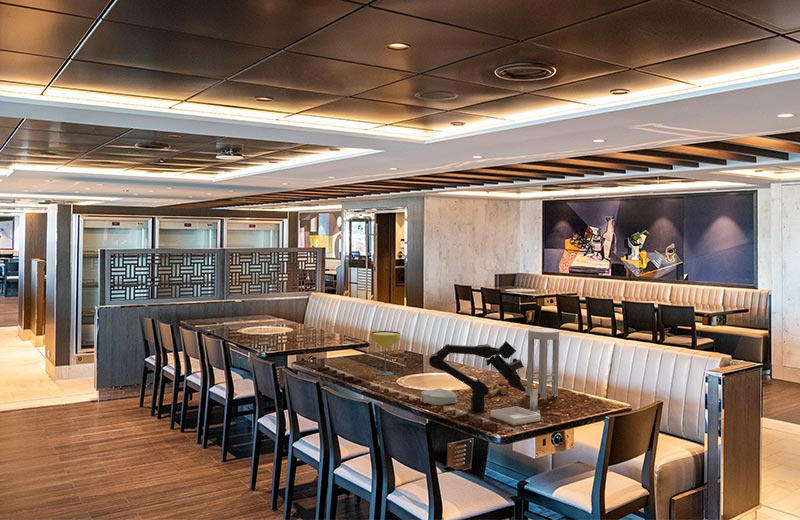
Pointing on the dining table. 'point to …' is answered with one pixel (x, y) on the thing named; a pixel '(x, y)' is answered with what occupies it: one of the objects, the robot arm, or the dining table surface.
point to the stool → (543, 360)
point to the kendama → (499, 389)
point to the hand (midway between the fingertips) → (524, 389)
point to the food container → (438, 397)
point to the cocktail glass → (385, 343)
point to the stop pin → (534, 398)
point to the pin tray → (515, 415)
